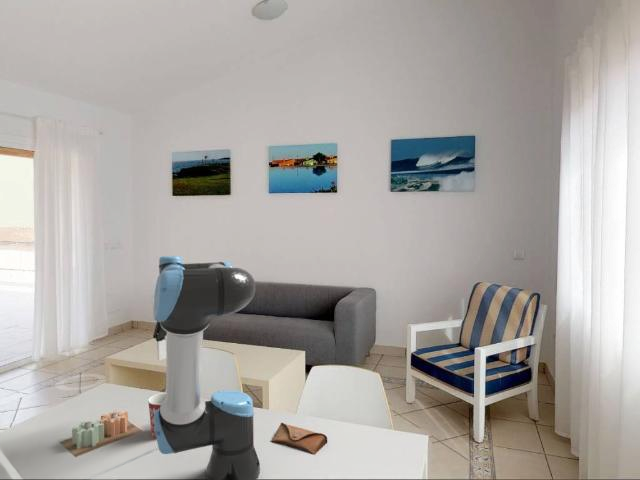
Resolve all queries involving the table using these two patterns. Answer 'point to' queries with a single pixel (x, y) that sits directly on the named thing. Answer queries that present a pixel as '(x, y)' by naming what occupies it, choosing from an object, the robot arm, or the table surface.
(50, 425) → the table surface
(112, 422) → the gear
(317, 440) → the sunglasses case
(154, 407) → the mug
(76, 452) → the gear board
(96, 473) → the table surface
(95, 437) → the gear
